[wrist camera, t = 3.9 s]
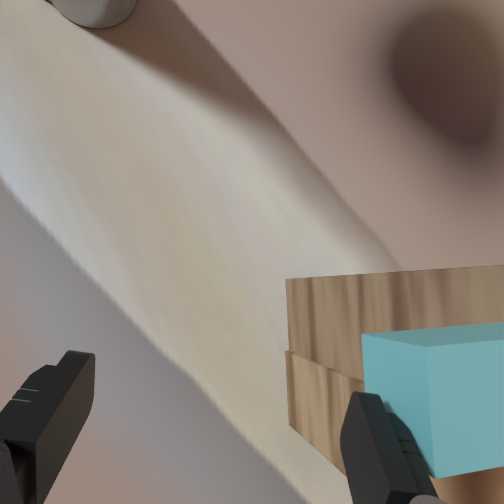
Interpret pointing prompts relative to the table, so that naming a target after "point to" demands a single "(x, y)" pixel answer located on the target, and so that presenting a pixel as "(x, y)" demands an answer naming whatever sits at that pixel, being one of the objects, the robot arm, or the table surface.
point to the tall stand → (385, 308)
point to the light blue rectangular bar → (443, 392)
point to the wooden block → (331, 420)
